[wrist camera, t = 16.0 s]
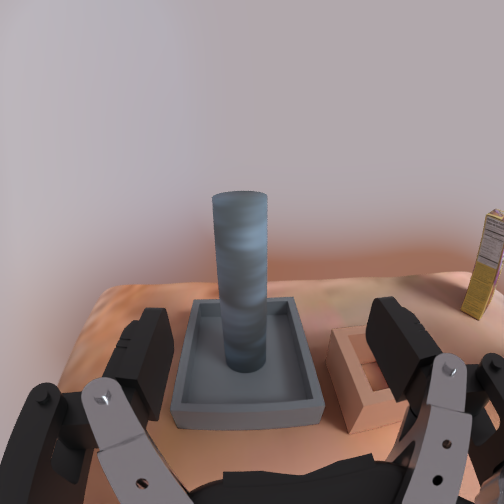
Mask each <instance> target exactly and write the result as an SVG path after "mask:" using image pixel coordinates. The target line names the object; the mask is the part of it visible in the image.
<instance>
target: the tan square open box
mask: <svg viewBox="0 0 504 504" xmlns="http://www.w3.org/2000/svg"><path fill="white" fill-rule="evenodd" d="M366 326H367V325H363V326H354V327H345V328H336V329H332V332H331V337H330V342H329V346H328V351H327V355H326V360H325V362H326V365H327V368H328V371H329V374H330V377H331V380H332V383H333V386H334V389H335V392H336V395H337V398H338V401H339V405H340V408H341V411H342V414H343V417H344V420H345V424H346V427H347V430H348V433H349V434H354V433H358V432H363V431H367V430H371V429H375V428H379V427H382V426H386V425H389V424H393V423H396V422H399V421H403V418H404V414H405V411H406V408H407V406H408V405H409V403H408V400H405V401H402V402H398V403H396V401H395V399H394V397H393V394H392V392H391V390H390V388H387V389H383V390H378V391H374V392H373V390H372V388H371V386H370V384H369V381H368V379H367V377H366V375H365V372H364V370H363V368H362V366H361V364H365V363H371V362H377V361H376V359H375V357H374V355H373V353H372V351H371V350H370V348H369V346H368V344H367V341H366V334H365V333H366Z"/></svg>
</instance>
